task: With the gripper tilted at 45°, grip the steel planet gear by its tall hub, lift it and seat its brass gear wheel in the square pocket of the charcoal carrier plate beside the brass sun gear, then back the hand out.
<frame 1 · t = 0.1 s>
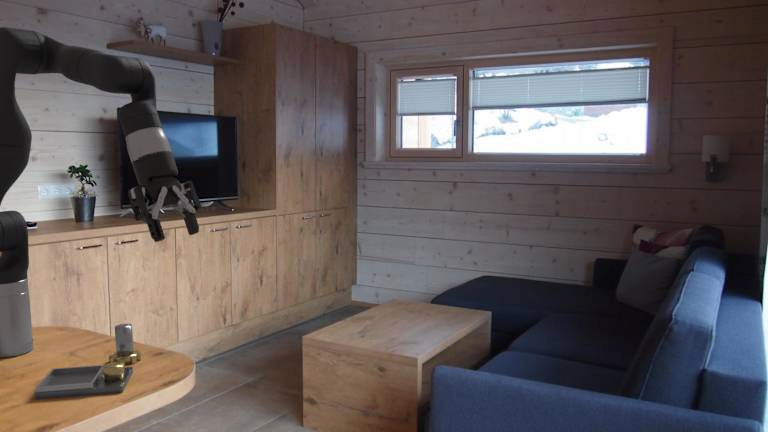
hand: (177, 237, 123), 31 cm above the table, tool tilted 20°, fingers open, 8 cm apart
planet gear: (125, 360, 147), on the table
carrier: (86, 385, 133), on the table
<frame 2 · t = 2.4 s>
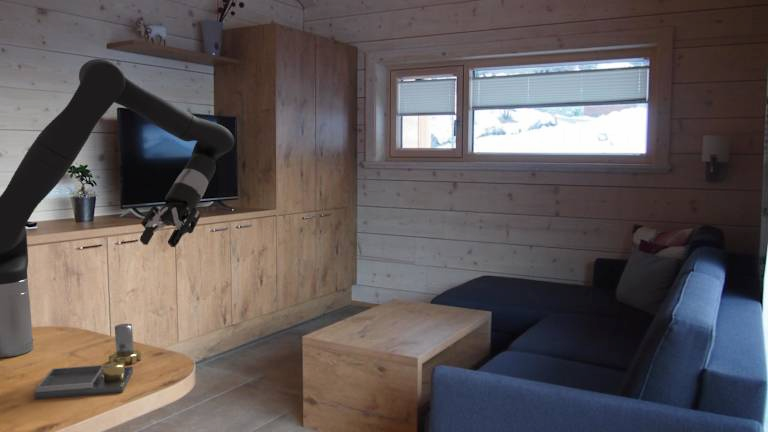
hand: (156, 244, 154), 25 cm above the table, tool tilted 45°, fingers open, 8 cm apart
nothing on the table moved.
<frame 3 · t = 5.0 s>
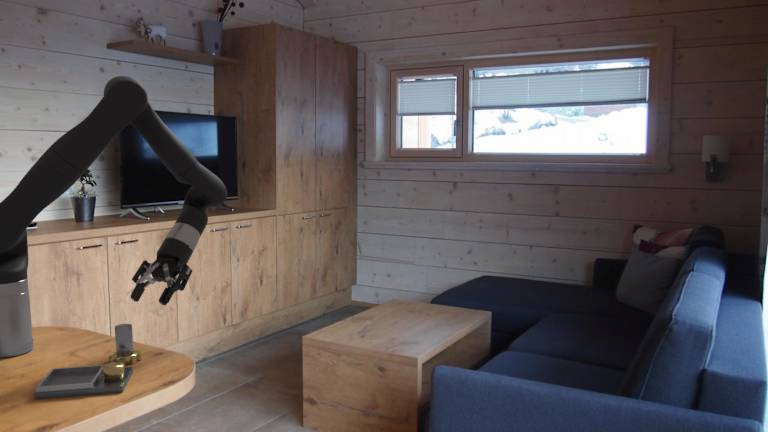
hand: (147, 301, 152), 12 cm above the table, tool tilted 45°, fingers open, 8 cm apart
nothing on the table moved.
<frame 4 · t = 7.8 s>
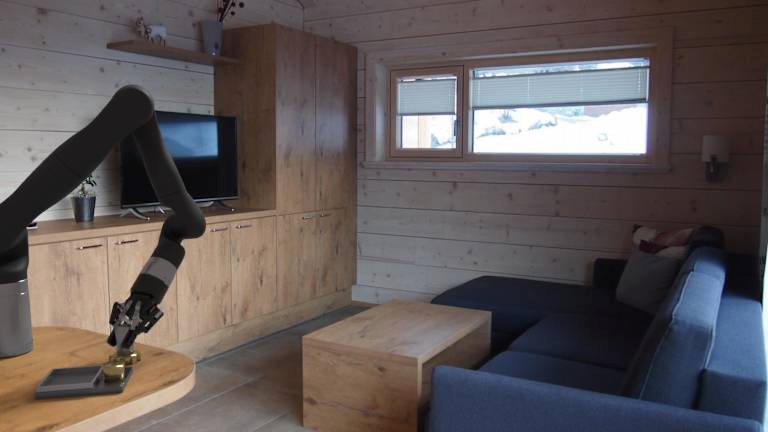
hand: (117, 345, 144), 4 cm above the table, tool tilted 45°, fingers closed on planet gear, 3 cm apart
planet gear: (125, 360, 147), on the table, touching gripper
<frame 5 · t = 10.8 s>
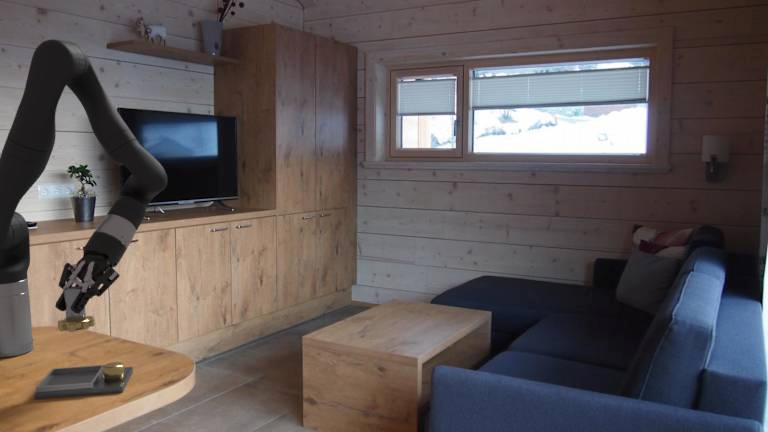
hand: (67, 310, 130), 16 cm above the table, tool tilted 45°, fingers closed on planet gear, 3 cm apart
planet gear: (76, 326, 133), point 12 cm above the table, touching gripper
when the fingers open (6 cm above the table, at t = 14.0 s): planet gear drops 1 cm, resting on carrier.
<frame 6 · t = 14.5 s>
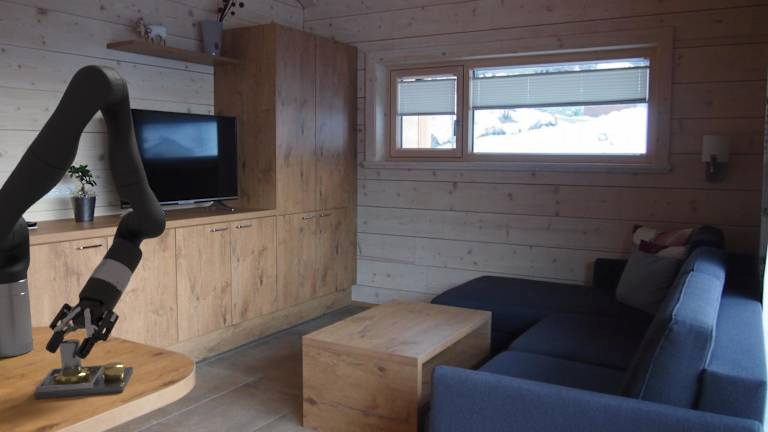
hand: (64, 354, 130), 7 cm above the table, tool tilted 45°, fingers open, 8 cm apart
planet gear: (72, 380, 132), point 1 cm above the table, touching carrier
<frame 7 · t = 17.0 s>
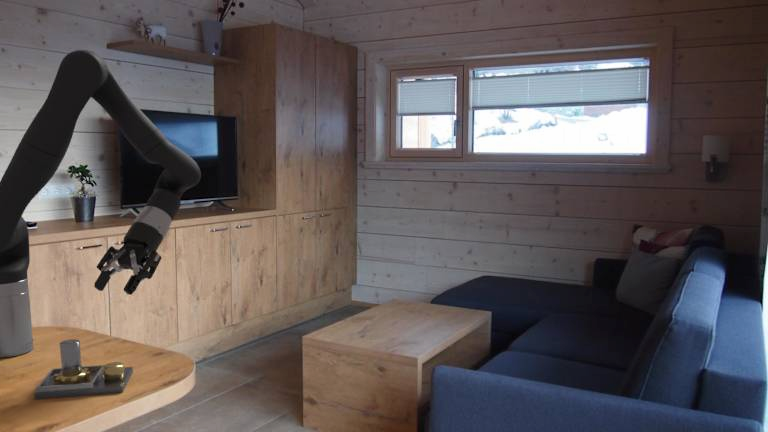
hand: (112, 290, 140), 17 cm above the table, tool tilted 45°, fingers open, 8 cm apart
nothing on the table moved.
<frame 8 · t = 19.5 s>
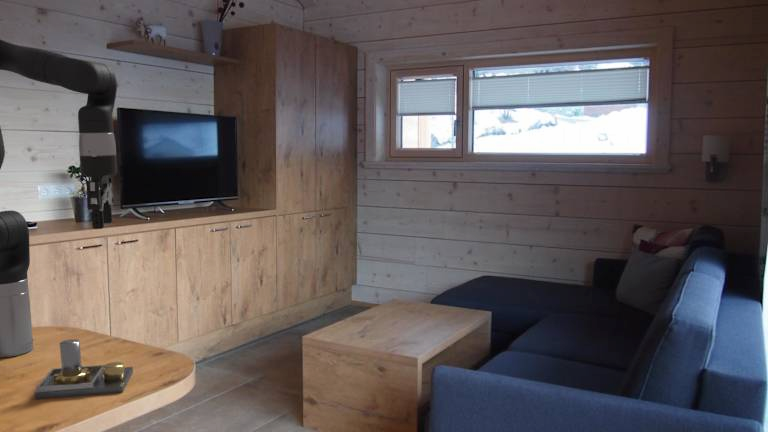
hand: (102, 225, 147), 30 cm above the table, tool pointing down, fingers open, 8 cm apart
nothing on the table moved.
at the end: planet gear 0.1 cm from the target spot on the carrier, point 1.2 cm above the carrier's base; planet gear tilted 0°; the gripper is holding nothing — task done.
